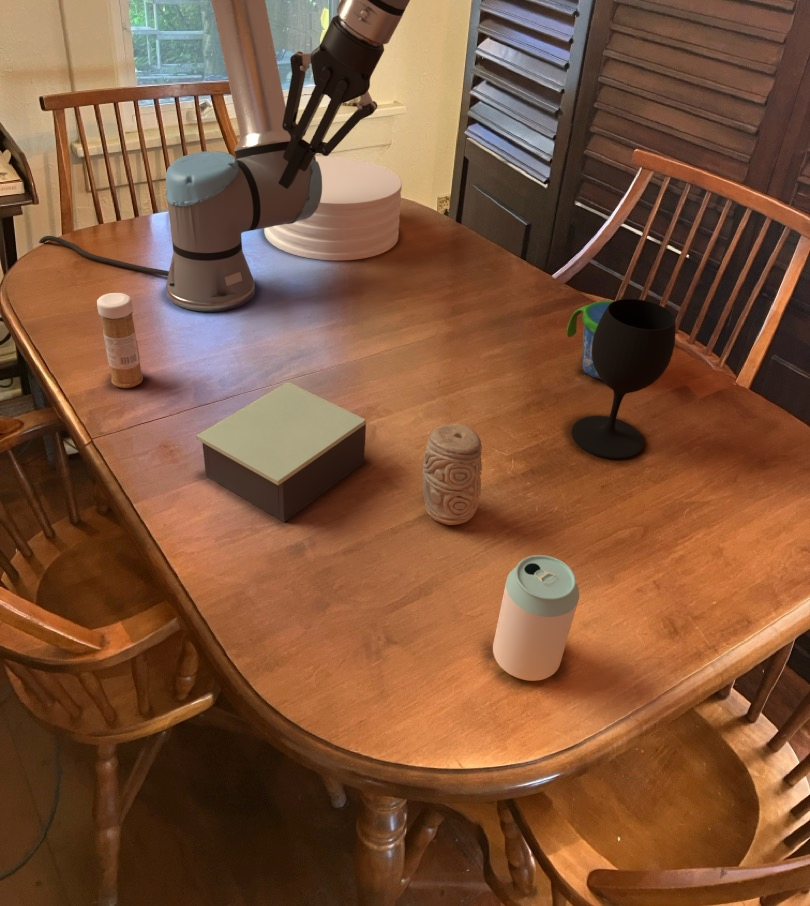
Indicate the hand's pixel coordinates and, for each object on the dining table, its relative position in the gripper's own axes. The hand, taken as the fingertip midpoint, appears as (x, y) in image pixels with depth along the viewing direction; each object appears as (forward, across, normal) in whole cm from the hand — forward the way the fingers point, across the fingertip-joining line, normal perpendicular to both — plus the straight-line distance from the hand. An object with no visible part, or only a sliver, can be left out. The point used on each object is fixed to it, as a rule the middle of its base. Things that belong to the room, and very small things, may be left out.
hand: (285, 182), depth 117 cm
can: (+3, +50, -57) cm, 75 cm away
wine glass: (0, +58, -14) cm, 60 cm away
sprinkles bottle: (+31, -5, -20) cm, 37 cm away
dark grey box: (+18, +20, -34) cm, 43 cm away
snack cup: (0, +58, +5) cm, 58 cm away
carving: (+8, +40, -36) cm, 55 cm away
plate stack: (+26, +8, +45) cm, 53 cm away
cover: (+13, +17, -34) cm, 40 cm away
